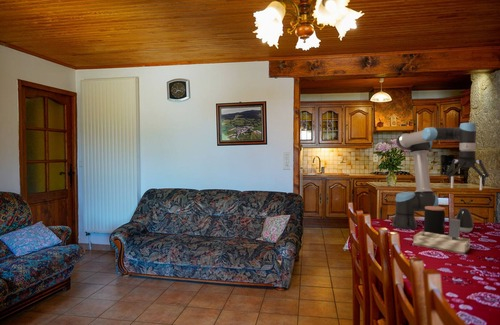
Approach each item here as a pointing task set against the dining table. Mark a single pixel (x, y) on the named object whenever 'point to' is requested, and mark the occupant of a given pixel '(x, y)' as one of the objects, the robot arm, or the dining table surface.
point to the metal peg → (454, 228)
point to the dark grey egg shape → (465, 220)
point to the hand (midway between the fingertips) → (466, 188)
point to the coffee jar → (434, 220)
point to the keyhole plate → (442, 242)
